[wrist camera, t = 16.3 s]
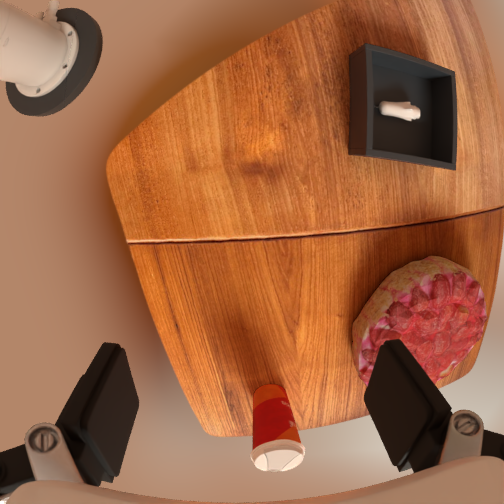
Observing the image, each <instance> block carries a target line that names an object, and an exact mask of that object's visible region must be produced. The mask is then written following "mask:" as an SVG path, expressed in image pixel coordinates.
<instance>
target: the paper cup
mask: <svg viewBox="0 0 504 504" xmlns="http://www.w3.org/2000/svg"><path fill="white" fill-rule="evenodd" d="M304 454H305V447H304V446H303V445H302V444H301V441H300V438H299V434H298V431H297V427H296V424H295V420H294V417H293V413H292V410H291V407H290V403H289V400H288V397H287V394H286V391H285V389H284V388H283V387H281V386H279V385H276V384H267V385H263V386H261V387H259V388H258V389H257V390H256V391H255V392H254V396H253V451H252V452H251V455H250V457H251V460H252V461H253V462H254V464H255V466H256V467H257V468H258V469H260V470H263V471H267V470H270V471H278V470H280V471H286V470H289V469H292V468H294V467H296V466H297V465H299V464H300V463H301V462H302V460H303V457H304Z"/></svg>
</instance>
